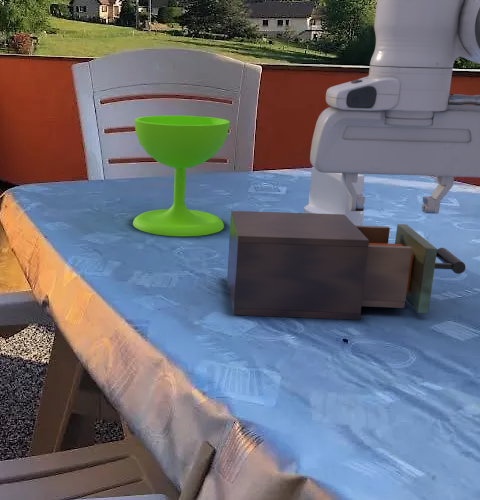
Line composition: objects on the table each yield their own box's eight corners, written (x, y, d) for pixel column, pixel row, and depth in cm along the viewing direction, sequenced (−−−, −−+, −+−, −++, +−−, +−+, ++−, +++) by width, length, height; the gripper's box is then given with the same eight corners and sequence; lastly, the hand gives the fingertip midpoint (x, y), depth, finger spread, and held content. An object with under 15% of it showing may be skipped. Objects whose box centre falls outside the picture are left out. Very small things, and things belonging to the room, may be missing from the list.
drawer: (434, 283, 93) (443, 225, 90) (468, 315, 82) (478, 250, 79) (295, 278, 94) (300, 220, 91) (310, 308, 83) (316, 244, 80)
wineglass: (205, 241, 114) (211, 128, 108) (116, 228, 120) (117, 121, 115) (236, 220, 127) (242, 119, 122) (154, 210, 134) (157, 113, 129)
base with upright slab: (372, 251, 110) (381, 174, 107) (326, 257, 106) (334, 178, 103) (332, 236, 118) (340, 165, 114) (289, 242, 114) (295, 168, 110)
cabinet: (337, 284, 94) (344, 214, 91) (360, 320, 82) (369, 240, 79) (226, 280, 95) (230, 210, 92) (233, 315, 83) (238, 235, 80)
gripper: (489, 93, 83) (471, 208, 87) (313, 89, 84) (303, 203, 88) (513, 97, 77) (492, 220, 81) (323, 92, 78) (312, 214, 82)
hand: (392, 211), depth 85 cm, fingers open, 7 cm apart
